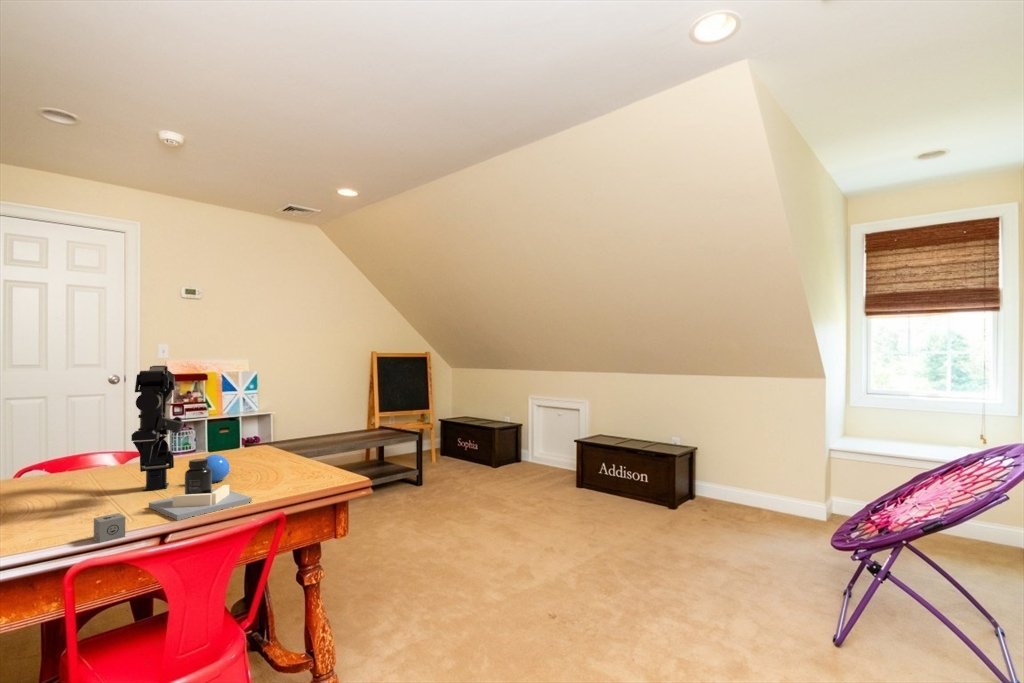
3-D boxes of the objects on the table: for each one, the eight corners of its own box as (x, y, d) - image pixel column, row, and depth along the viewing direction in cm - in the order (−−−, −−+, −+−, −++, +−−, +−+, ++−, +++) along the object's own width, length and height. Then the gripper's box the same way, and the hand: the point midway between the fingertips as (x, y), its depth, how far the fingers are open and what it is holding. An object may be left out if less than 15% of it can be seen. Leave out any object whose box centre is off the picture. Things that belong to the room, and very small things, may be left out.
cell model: (235, 476, 186) (235, 450, 186) (225, 484, 174) (225, 456, 175) (204, 478, 183) (204, 451, 184) (193, 486, 172) (193, 458, 172)
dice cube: (93, 538, 124) (93, 518, 124) (118, 532, 128) (118, 512, 128) (99, 543, 121) (100, 522, 121) (125, 537, 125) (125, 516, 125)
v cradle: (148, 507, 148) (148, 492, 148) (220, 492, 164) (220, 478, 165) (177, 520, 137) (177, 503, 137) (251, 502, 153) (251, 487, 153)
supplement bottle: (217, 498, 152) (217, 458, 152) (196, 504, 146) (197, 463, 146) (199, 496, 154) (200, 456, 155) (178, 502, 148) (179, 461, 148)
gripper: (176, 410, 153) (175, 462, 152) (187, 407, 170) (186, 455, 168) (131, 412, 148) (130, 466, 147) (146, 409, 165) (146, 458, 164)
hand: (150, 461), depth 157 cm, fingers open, 9 cm apart
